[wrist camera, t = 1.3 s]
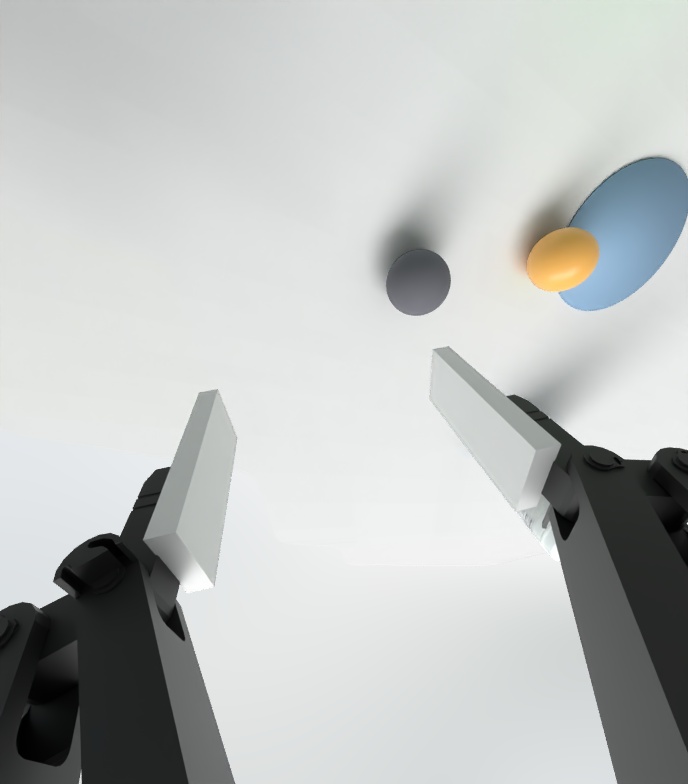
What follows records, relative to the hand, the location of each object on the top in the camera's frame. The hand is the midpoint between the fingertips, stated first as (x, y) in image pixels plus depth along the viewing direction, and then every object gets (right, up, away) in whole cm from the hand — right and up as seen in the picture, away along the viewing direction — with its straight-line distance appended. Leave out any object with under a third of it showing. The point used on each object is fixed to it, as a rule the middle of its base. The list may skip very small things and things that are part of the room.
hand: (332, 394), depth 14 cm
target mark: (+29, +15, +18) cm, 37 cm away
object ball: (+21, +12, +15) cm, 28 cm away
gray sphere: (+7, +10, +13) cm, 18 cm away
